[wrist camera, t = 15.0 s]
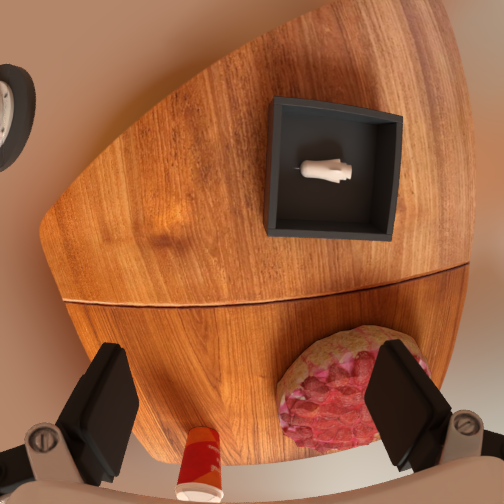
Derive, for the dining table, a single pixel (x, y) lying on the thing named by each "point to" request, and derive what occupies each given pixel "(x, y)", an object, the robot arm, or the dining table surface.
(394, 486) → the robot arm
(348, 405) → the cake
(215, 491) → the paper cup
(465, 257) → the dining table surface
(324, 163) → the small white plastic part
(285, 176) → the bin
